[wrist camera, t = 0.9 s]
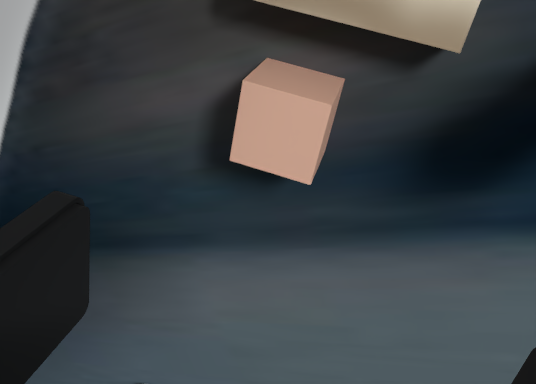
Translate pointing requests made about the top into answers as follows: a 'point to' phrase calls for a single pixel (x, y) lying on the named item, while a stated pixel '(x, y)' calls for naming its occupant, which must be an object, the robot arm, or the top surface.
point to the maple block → (397, 17)
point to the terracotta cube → (285, 119)
